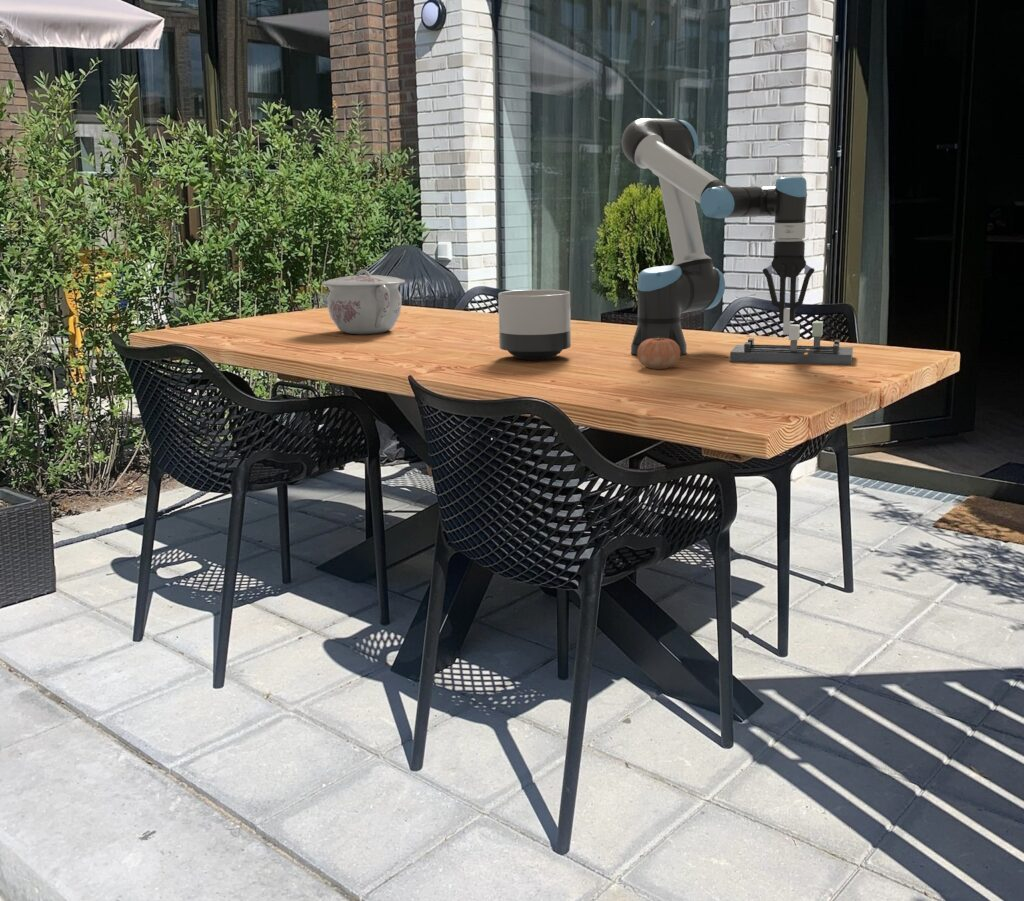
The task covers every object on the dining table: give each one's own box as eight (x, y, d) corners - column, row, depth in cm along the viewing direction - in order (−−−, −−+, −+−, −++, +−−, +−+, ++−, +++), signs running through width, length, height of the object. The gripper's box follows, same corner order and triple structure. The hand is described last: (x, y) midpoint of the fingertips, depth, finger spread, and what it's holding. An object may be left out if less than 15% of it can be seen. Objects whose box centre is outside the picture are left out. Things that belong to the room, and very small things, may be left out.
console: (729, 362, 278) (729, 345, 277) (736, 353, 293) (737, 337, 292) (850, 366, 269) (851, 348, 268) (852, 356, 284) (853, 339, 283)
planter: (579, 354, 299) (578, 289, 295) (559, 364, 282) (558, 296, 278) (513, 352, 306) (511, 289, 302) (489, 362, 288) (487, 295, 284)
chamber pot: (338, 327, 374) (334, 266, 369) (415, 326, 370) (413, 265, 366) (312, 337, 347) (308, 272, 342) (396, 337, 343) (393, 271, 339)
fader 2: (811, 347, 282) (812, 322, 280) (812, 345, 286) (813, 321, 284) (821, 348, 281) (822, 323, 280) (821, 345, 285) (823, 321, 283)
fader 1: (788, 351, 276) (789, 326, 275) (789, 349, 280) (790, 324, 278) (797, 351, 275) (798, 326, 274) (798, 349, 279) (799, 324, 278)
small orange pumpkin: (669, 372, 265) (670, 340, 263) (629, 369, 271) (629, 338, 269) (687, 366, 274) (687, 335, 272) (648, 363, 280) (648, 333, 278)
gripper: (761, 241, 270) (758, 335, 276) (815, 240, 266) (811, 336, 271) (764, 240, 277) (762, 331, 283) (817, 239, 273) (813, 332, 278)
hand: (786, 333), depth 277 cm, fingers closed
